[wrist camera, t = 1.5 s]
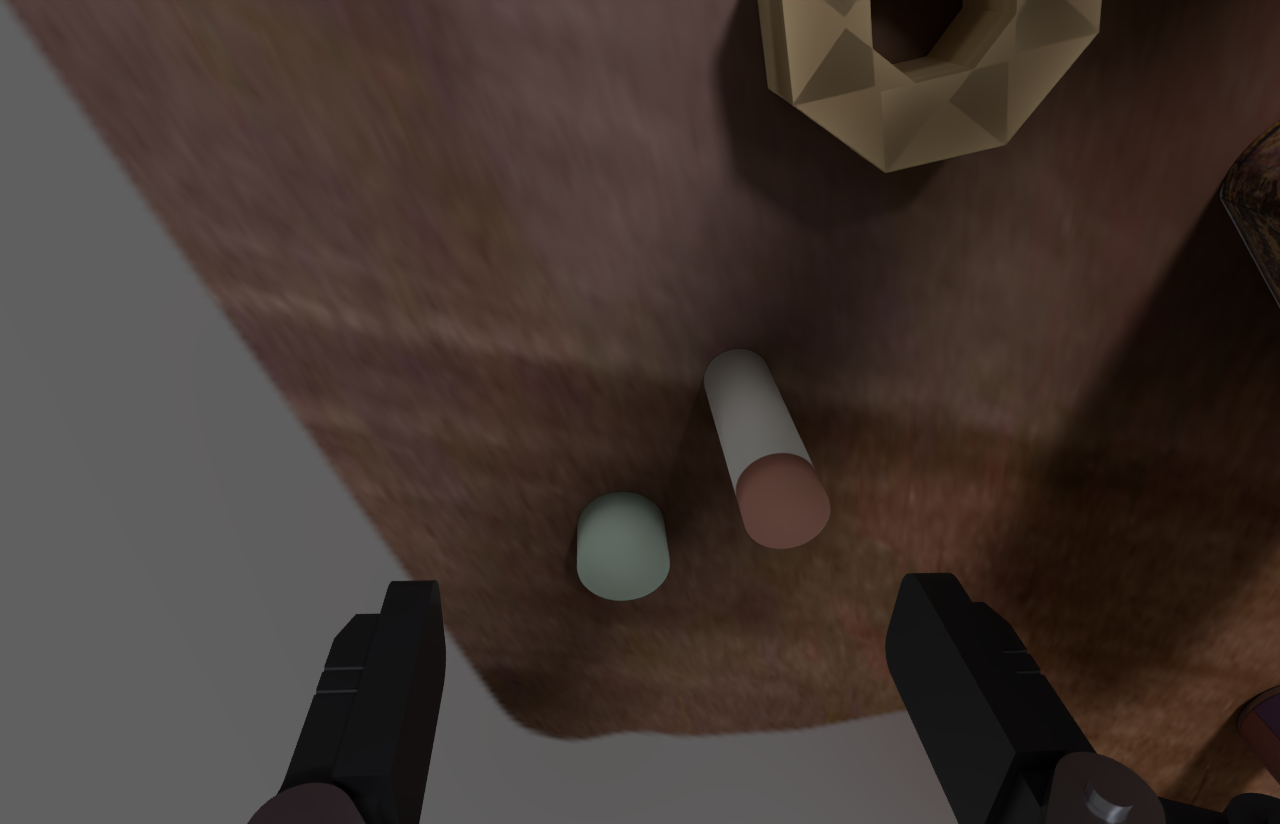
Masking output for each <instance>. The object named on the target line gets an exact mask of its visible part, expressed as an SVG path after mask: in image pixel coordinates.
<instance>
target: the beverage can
mask: <svg viewBox="0 0 1280 824" xmlns="http://www.w3.org/2000/svg"><path fill="white" fill-rule="evenodd" d="M1238 727H1239V733H1240V737H1241V739H1242V741H1243V742H1244V743H1245V744H1246V746H1247V747H1248V748H1249V749H1250V750H1251V752H1252V753H1253V754H1254V755H1255V756H1256V757H1257V759H1258V760H1259V761H1260V762H1261V763H1262V765H1263V766H1264V767H1265V768H1266V769H1267V770H1268V772H1269V773H1270V774H1271V775H1272V776H1273V778H1274V779H1275V780H1276V781H1277V782H1278V783H1279V785H1280V686H1278V687H1275V688H1272V689H1270V690H1268V691H1266V692H1264V693H1262V694H1260V695H1259V696H1257V697H1256V698H1255V699H1253V700H1252V701H1251V702H1250V703H1249V704H1248V705H1247V706H1246V707H1245V708H1244V709H1243V711H1242V712H1241V714H1240V716H1239V720H1238Z"/></svg>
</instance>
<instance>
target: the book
mask: <svg viewBox="0 0 1280 824" xmlns="http://www.w3.org/2000/svg"><path fill="white" fill-rule="evenodd" d="M1219 198H1220V200H1221V201H1222V203H1223V205H1224V207H1225V209H1226V211H1227V212H1228V214H1229V216H1230V218H1231V220H1232V222H1233V223H1234V225H1235V227H1236V229H1237V231H1238V233H1239V234H1240V236H1241V238H1242V240H1243V242H1244V244H1245V245H1246V247H1247V249H1248V251H1249V253H1250V255H1251V256H1252V258H1253V260H1254V262H1255V264H1256V266H1257V267H1258V269H1259V271H1260V273H1261V275H1262V277H1263V278H1264V280H1265V282H1266V284H1267V286H1268V288H1269V289H1270V291H1271V293H1272V295H1273V297H1274V299H1275V300H1276V302H1277V304H1278V306H1279V308H1280V121H1279V122H1277V123H1276V124H1274V125H1273V126H1271V127H1270V128H1269V129H1268V130H1266V131H1265V132H1264V133H1263V134H1261V135H1260V136H1259V137H1258V138H1257V139H1256V140H1255V141H1254V142H1253V143H1252V144H1251V145H1250V146H1249V147H1248V148H1247V149H1246V150H1245V151H1244V152H1243V153H1242V154H1241V155H1240V157H1239V158H1238V159H1237V160H1236V162H1235V163H1234V164H1233V166H1232V167H1231V169H1230V171H1229V172H1228V174H1227V176H1226V178H1225V180H1224V182H1223V184H1222V187H1221V191H1220V195H1219Z"/></svg>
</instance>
